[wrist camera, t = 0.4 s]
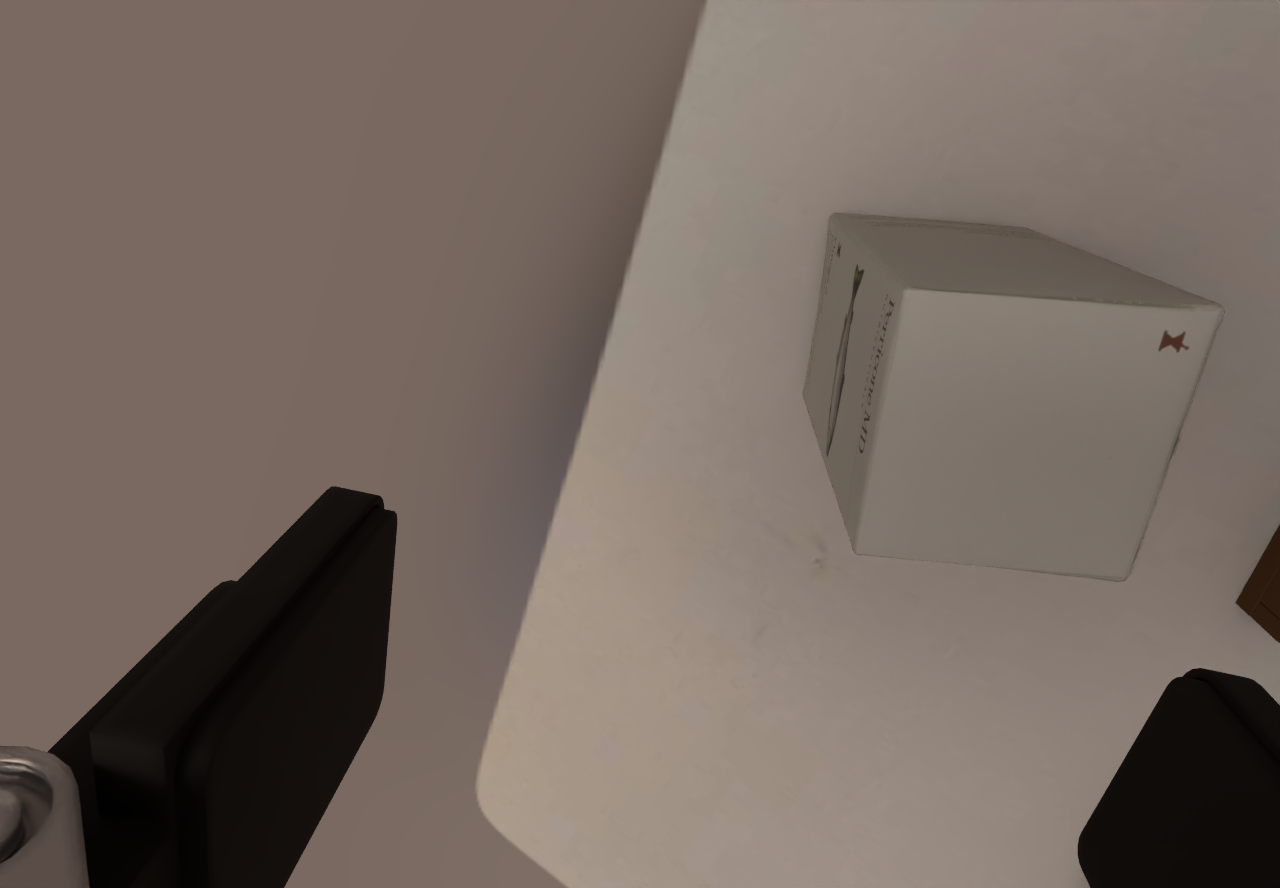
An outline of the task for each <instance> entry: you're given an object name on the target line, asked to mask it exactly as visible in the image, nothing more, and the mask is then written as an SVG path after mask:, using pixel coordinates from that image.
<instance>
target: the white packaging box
mask: <svg viewBox="0 0 1280 888" xmlns="http://www.w3.org/2000/svg"><path fill="white" fill-rule="evenodd" d="M1224 313H1225V311H1224V308H1223V307H1222V306H1221V305H1219V304H1218V303H1215V302H1213V301H1210V300H1207V299H1205V298H1202V297H1199V296H1197V295H1194V294H1191V293H1189V292H1186V291H1184V290H1181V289H1179V288H1176V287H1174V286H1171V285H1169V284H1166V283H1164V282H1161V281H1159V280H1156V279H1154V278H1151V277H1148V276H1146V275H1143V274H1141V273H1138V272H1136V271H1133V270H1131V269H1128V268H1126V267H1123V266H1121V265H1118V264H1116V263H1113V262H1110V261H1108V260H1105V259H1103V258H1100V257H1098V256H1095V255H1093V254H1090V253H1088V252H1085V251H1082V250H1080V249H1077V248H1075V247H1072V246H1070V245H1067V244H1065V243H1062V242H1060V241H1057V240H1055V239H1052V238H1050V237H1047V236H1045V235H1042V234H1040V233H1037V232H1035V231H1032V230H1030V229H1027V228H1020V227H1006V226H994V225H982V224H970V223H959V222H948V221H936V220H922V219H909V218H895V217H883V216H871V215H856V214H840V213H834V214H831V216H830V217H829V225H828V235H827V245H826V254H825V263H824V270H823V278H822V285H821V292H820V298H819V305H818V311H817V317H816V323H815V329H814V335H813V341H812V348H811V353H810V359H809V364H808V369H807V375H806V380H805V385H804V389H803V396H804V400H805V403H806V406H807V409H808V413H809V416H810V419H811V422H812V426H813V428H814V431H815V435H816V438H817V441H818V444H819V447H820V450H821V454H822V457H823V460H824V463H825V466H826V469H827V472H828V475H829V478H830V481H831V484H832V487H833V489H834V492H835V495H836V498H837V501H838V504H839V508H840V511H841V514H842V517H843V520H844V524H845V526H846V529H847V532H848V535H849V538H850V541H851V544H852V548H853V552H854V553H855V554H857V555H868V556H878V557H888V558H899V559H910V560H921V561H932V562H943V563H953V564H964V565H975V566H987V567H997V568H1006V569H1014V570H1023V571H1031V572H1040V573H1048V574H1057V575H1065V576H1074V577H1084V578H1092V579H1101V580H1109V581H1116V582H1119V581H1125V580H1126V579H1127V578H1128V576H1129V575H1130V574H1131V572H1132V570H1133V568H1134V565H1135V561H1136V559H1137V556H1138V554H1139V551H1140V548H1141V545H1142V542H1143V539H1144V536H1145V532H1146V530H1147V527H1148V524H1149V522H1150V519H1151V516H1152V513H1153V511H1154V508H1155V505H1156V502H1157V499H1158V497H1159V494H1160V491H1161V488H1162V485H1163V482H1164V479H1165V477H1166V474H1167V471H1168V468H1169V466H1170V463H1171V461H1172V458H1173V456H1174V454H1175V452H1176V449H1177V446H1178V443H1179V440H1180V436H1181V433H1182V429H1183V426H1184V423H1185V420H1186V418H1187V415H1188V412H1189V409H1190V406H1191V403H1192V401H1193V398H1194V395H1195V392H1196V389H1197V386H1198V384H1199V381H1200V378H1201V375H1202V373H1203V370H1204V367H1205V364H1206V362H1207V359H1208V356H1209V353H1210V350H1211V348H1212V345H1213V342H1214V339H1215V336H1216V334H1217V331H1218V329H1219V327H1220V324H1221V322H1222V320H1223V316H1224Z"/></svg>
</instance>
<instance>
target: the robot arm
mask: <svg viewBox="0 0 1280 888" xmlns="http://www.w3.org/2000/svg"><path fill="white" fill-rule="evenodd" d="M396 533H397V514H396V513H395V512H394V511H390V510H385V509H384V503H383V499H382V498H381V497H380V496H378V495H374V494H369V493H364V492H359V491H355V490H350V489H345V488H340V487H330V488H329V489H328V490H326V491H325V493H324V494H323V495H321V497H320V498H319V499H318V500H317V501H316V502H315V503H314V504H313V505H312V506H311V507H310V508H309V509H308V510H307V511H306V512H305V513H304V514H303V515H302V516H301V517H300V518H299V519H298V520H297V521H296V522H295V523H294V524H293V525H292V526H291V527H290V528H289V529H288V530H287V531H286V532H285V533H284V534H283V535H282V536H281V537H280V538H279V539H278V540H277V541H276V542H275V543H274V544H273V545H272V547H271V548H269V550H268V551H267V552H266V553H265V554H264V555H263V556H262V557H261V558H260V559H259V560H258V561H257V562H256V563H255V564H254V565H253V566H252V567H251V568H250V569H249V570H248V571H247V572H246V573H245V574H244V575H243V576H242V577H241V578H240V579H239V580H238V581H232V580H230V581H226V582H222V583H221V584H219V585H218V586H217V587H215V588H214V589H213V590H211V591H210V592H209V594H207V595H206V597H204V598H203V599H202V600H201V601H200V602H199V603H198V604H197V605H196V606H195V607H194V608H193V609H192V610H191V611H190V612H189V613H188V614H187V615H186V616H185V617H184V618H183V619H182V620H181V621H180V622H179V623H178V624H177V625H176V626H175V627H174V628H173V629H172V630H171V631H170V632H169V633H168V634H167V635H166V636H165V637H164V638H163V639H162V640H161V641H160V642H159V643H158V644H157V645H156V646H155V647H154V648H152V650H150V651H149V652H148V653H147V654H146V655H145V656H144V657H143V658H142V659H141V660H140V661H139V662H138V663H137V664H136V665H135V666H134V667H133V668H132V669H131V670H130V671H129V672H128V673H127V674H126V675H125V676H124V677H123V678H122V679H121V680H120V681H119V682H118V683H117V684H116V685H115V686H114V687H113V688H112V689H111V690H110V691H109V692H108V693H107V694H106V695H105V696H104V697H103V698H102V699H101V700H100V701H99V702H98V703H97V704H96V705H95V706H94V707H93V708H92V709H91V710H89V712H87V714H86V715H84V717H82V718H81V719H80V720H79V721H78V722H77V723H76V724H75V725H74V726H73V727H72V728H71V729H70V730H69V731H68V732H67V733H66V734H65V735H64V736H63V737H62V738H61V739H60V740H59V741H58V742H57V743H56V744H55V745H54V746H53V747H52V748H51V749H50V750H49V751H48V752H44V751H40V750H37V749H33V748H30V747H19V746H0V888H284V887H285V885H286V883H287V881H288V879H289V877H290V876H291V874H292V872H293V870H294V868H295V866H296V864H297V863H298V861H299V859H300V857H301V855H302V853H303V851H304V850H305V848H306V846H307V844H308V842H309V840H310V839H311V837H312V835H313V833H314V831H315V829H316V827H317V825H318V824H319V822H320V820H321V818H322V816H323V814H324V813H325V811H326V809H327V807H328V805H329V803H330V801H331V800H332V798H333V796H334V794H335V792H336V790H337V788H338V787H339V785H340V783H341V781H342V779H343V777H344V775H345V774H346V772H347V770H348V768H349V766H350V764H351V763H352V761H353V759H354V757H355V755H356V753H357V751H358V750H359V748H360V746H361V744H362V742H363V740H364V739H365V737H366V735H367V733H368V731H369V729H370V727H371V725H372V723H373V722H374V720H375V718H376V715H377V713H378V710H379V707H380V704H381V701H382V696H383V691H384V682H385V669H386V656H387V645H388V632H389V620H390V607H391V594H392V583H393V570H394V558H395V545H396ZM1078 858H1079V863H1080V866H1081V868H1082V871H1083V873H1084V875H1085V877H1086V879H1087V881H1088V883H1089V885H1090V887H1091V888H1280V705H1279V704H1278V703H1277V702H1276V701H1275V700H1274V699H1273V698H1272V697H1271V696H1270V695H1269V694H1268V692H1267V691H1266V690H1265V689H1264V688H1263V687H1262V686H1261V685H1259V684H1258V683H1257V682H1255V681H1254V680H1252V679H1249V678H1245V677H1241V676H1236V675H1231V674H1227V673H1222V672H1217V671H1212V670H1207V669H1203V668H1198V669H1192V670H1190V671H1189V672H1187V673H1185V675H1184V676H1183V677H1177V678H1175V679H1174V680H1172V681H1171V682H1170V683H1169V684H1168V686H1167V687H1166V689H1165V691H1164V692H1163V694H1162V696H1161V697H1160V699H1159V701H1158V703H1157V704H1156V706H1155V708H1154V709H1153V711H1152V713H1151V715H1150V716H1149V718H1148V720H1147V721H1146V723H1145V725H1144V726H1143V728H1142V730H1141V732H1140V733H1139V735H1138V737H1137V738H1136V740H1135V742H1134V744H1133V745H1132V747H1131V749H1130V750H1129V752H1128V754H1127V756H1126V757H1125V759H1124V761H1123V762H1122V764H1121V766H1120V767H1119V769H1118V771H1117V773H1116V774H1115V776H1114V778H1113V779H1112V781H1111V783H1110V785H1109V786H1108V788H1107V790H1106V791H1105V793H1104V795H1103V797H1102V798H1101V800H1100V802H1099V803H1098V805H1097V807H1096V808H1095V810H1094V812H1093V814H1092V815H1091V817H1090V819H1089V820H1088V822H1087V824H1086V826H1085V827H1084V829H1083V831H1082V832H1081V835H1080V837H1079V842H1078Z"/></svg>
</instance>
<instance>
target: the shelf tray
mask: <svg viewBox="0 0 1280 888" xmlns="http://www.w3.org/2000/svg"><path fill="white" fill-rule="evenodd" d="M1236 603H1237V605H1239V606H1240V607H1241V608H1242V609H1243V610H1244V611H1245V612H1246V613H1247V614H1248V615H1249V616H1251V617H1252V618H1253V619H1254V620H1255V621H1256V622H1257V623H1258V624H1259V625H1260V626H1261V627H1262V628H1263V629H1265V630H1266V631H1267V632H1268V633H1269V634H1270V635H1271V636H1272V637H1273V638H1274V639H1275V640H1276V641H1277V642H1279V643H1280V526H1279V528H1278V530H1277V532H1276V533H1275V535H1274V537H1273V539H1272V540H1271V542H1270V544H1269V546H1268V548H1267V549H1266V551H1265V553H1264V555H1263V556H1262V558H1261V560H1260V562H1259V563H1258V565H1257V567H1256V569H1255V571H1254V572H1253V574H1252V576H1251V578H1250V579H1249V581H1248V583H1247V585H1246V586H1245V588H1244V590H1243V592H1242V593H1241V595H1240V597H1239V599H1238V601H1237V602H1236Z"/></svg>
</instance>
